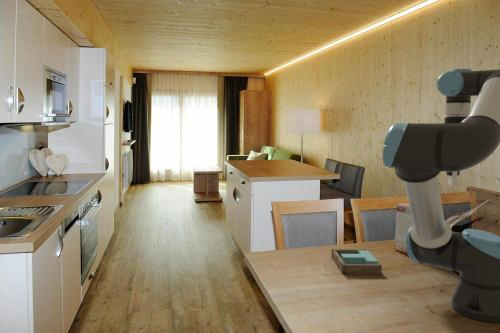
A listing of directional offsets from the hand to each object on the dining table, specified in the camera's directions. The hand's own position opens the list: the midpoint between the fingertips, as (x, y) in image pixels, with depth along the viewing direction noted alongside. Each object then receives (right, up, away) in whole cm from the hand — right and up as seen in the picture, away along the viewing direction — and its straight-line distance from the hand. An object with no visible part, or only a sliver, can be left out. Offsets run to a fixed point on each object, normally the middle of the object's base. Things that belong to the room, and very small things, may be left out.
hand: (452, 185), depth 134 cm
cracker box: (0, -31, +32) cm, 44 cm away
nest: (-29, -32, +17) cm, 47 cm away
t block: (-28, -32, +17) cm, 46 cm away
